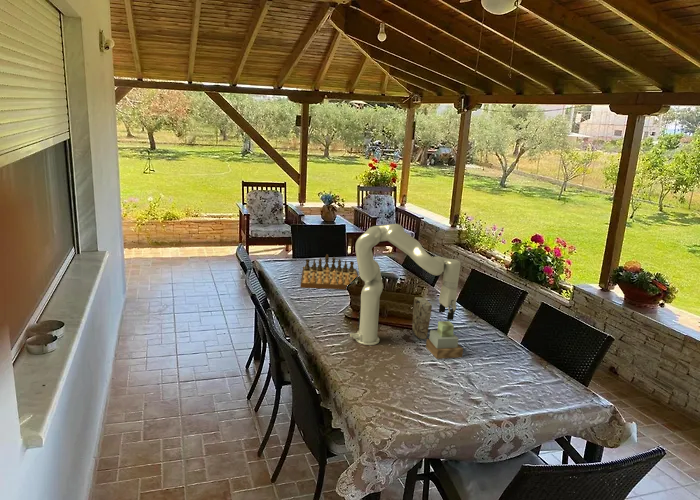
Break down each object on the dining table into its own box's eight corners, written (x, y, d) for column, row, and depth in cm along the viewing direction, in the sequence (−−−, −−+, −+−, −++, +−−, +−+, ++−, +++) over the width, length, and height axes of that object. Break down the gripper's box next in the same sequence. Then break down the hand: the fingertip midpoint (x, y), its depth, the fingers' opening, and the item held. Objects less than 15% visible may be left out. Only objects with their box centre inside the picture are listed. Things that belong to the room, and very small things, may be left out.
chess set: (359, 290, 355) (360, 270, 351) (300, 288, 353) (301, 267, 349) (356, 273, 394) (357, 254, 390) (302, 271, 391) (303, 252, 388)
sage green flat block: (437, 348, 261) (438, 339, 260) (429, 339, 272) (430, 330, 270) (457, 347, 264) (458, 338, 262) (448, 338, 274) (449, 329, 273)
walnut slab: (436, 359, 260) (437, 350, 259) (425, 347, 273) (426, 338, 272) (462, 358, 264) (463, 349, 263) (450, 346, 277) (451, 337, 276)
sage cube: (441, 337, 263) (442, 325, 262) (437, 332, 269) (438, 321, 267) (452, 336, 264) (453, 325, 263) (448, 331, 270) (449, 321, 268)
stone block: (430, 339, 283) (433, 304, 278) (418, 339, 281) (421, 305, 276) (419, 329, 295) (423, 295, 290) (408, 330, 293) (411, 296, 288)
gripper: (436, 278, 267) (432, 309, 271) (450, 289, 251) (446, 322, 255) (449, 278, 269) (445, 309, 273) (464, 289, 253) (460, 322, 257)
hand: (445, 315), depth 264 cm, fingers open, 9 cm apart
